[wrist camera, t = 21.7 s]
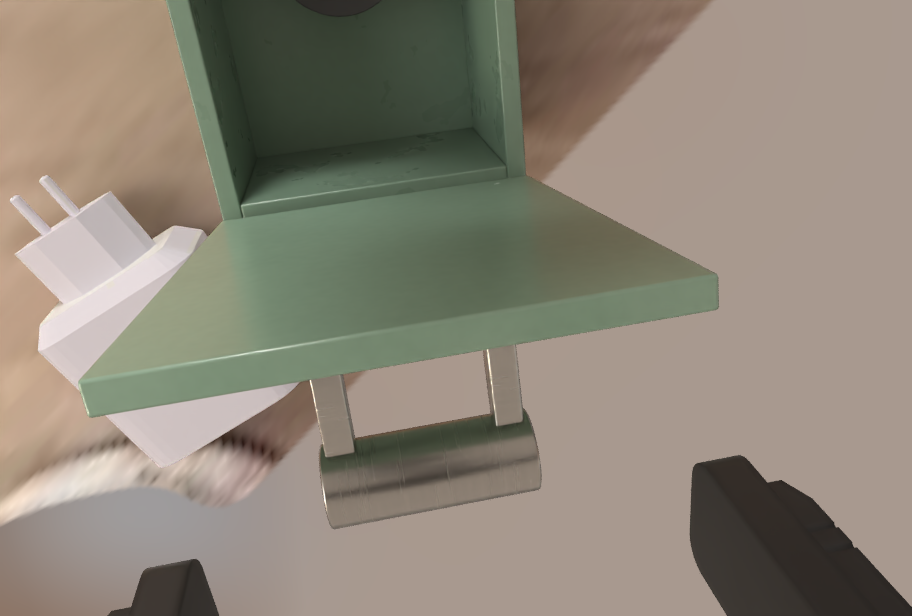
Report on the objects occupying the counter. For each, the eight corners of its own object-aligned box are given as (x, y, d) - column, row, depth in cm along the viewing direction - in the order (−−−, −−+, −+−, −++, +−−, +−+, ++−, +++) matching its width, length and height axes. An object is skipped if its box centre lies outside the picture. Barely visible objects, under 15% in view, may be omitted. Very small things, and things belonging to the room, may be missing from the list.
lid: (74, 382, 13) (149, 617, 15) (720, 273, 15) (723, 503, 16) (220, 220, 29) (249, 346, 31) (528, 174, 30) (540, 297, 32)
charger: (122, 122, 35) (303, 345, 42) (-28, 222, 36) (173, 425, 43) (93, 144, 31) (301, 388, 38) (-75, 256, 32) (156, 475, 39)
